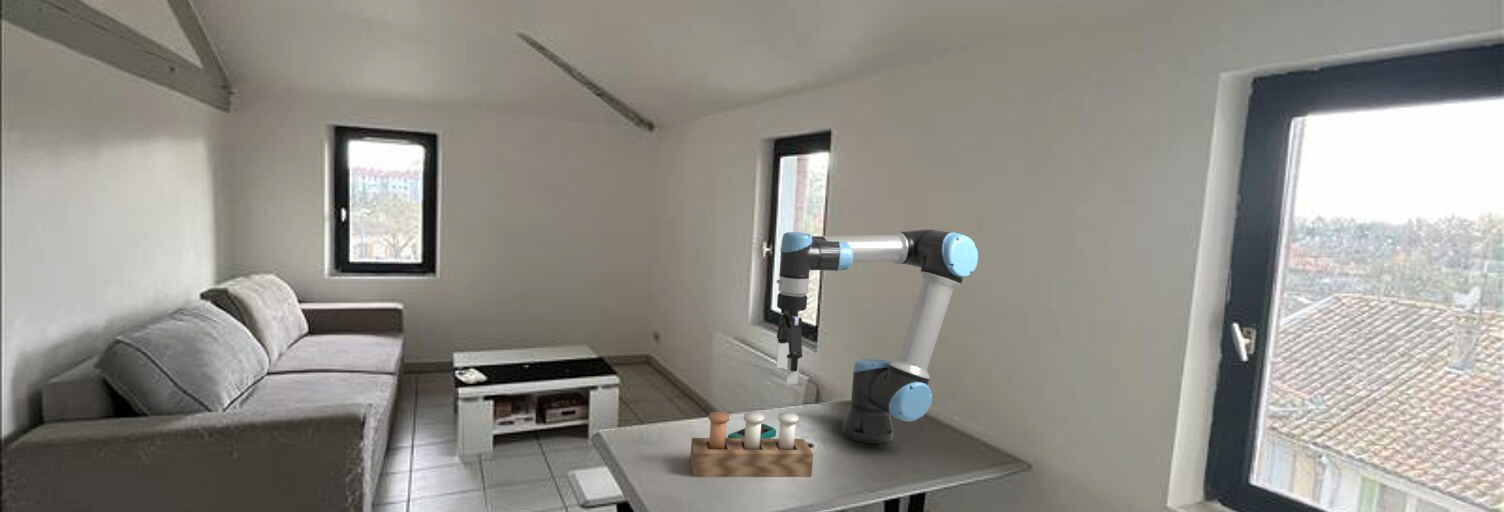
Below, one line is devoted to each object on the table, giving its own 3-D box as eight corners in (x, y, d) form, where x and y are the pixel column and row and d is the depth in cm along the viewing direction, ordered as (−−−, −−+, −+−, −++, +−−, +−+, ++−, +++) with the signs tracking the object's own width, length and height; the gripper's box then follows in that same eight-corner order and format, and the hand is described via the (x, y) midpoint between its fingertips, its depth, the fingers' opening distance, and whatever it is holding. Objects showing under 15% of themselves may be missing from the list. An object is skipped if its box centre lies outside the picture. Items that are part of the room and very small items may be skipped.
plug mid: (759, 445, 177) (762, 412, 176) (763, 453, 172) (766, 419, 171) (739, 445, 176) (742, 411, 175) (743, 453, 171) (745, 419, 170)
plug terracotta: (725, 445, 175) (727, 411, 174) (728, 453, 170) (730, 418, 169) (705, 445, 174) (707, 411, 173) (707, 453, 169) (709, 418, 168)
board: (801, 460, 182) (803, 438, 181) (811, 476, 172) (813, 454, 171) (690, 459, 176) (691, 437, 176) (693, 476, 167) (694, 453, 166)
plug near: (793, 445, 178) (796, 412, 177) (797, 453, 173) (800, 419, 172) (773, 445, 177) (776, 412, 176) (777, 453, 172) (780, 419, 171)
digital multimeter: (777, 437, 198) (778, 427, 198) (747, 450, 186) (747, 440, 186) (757, 430, 203) (757, 420, 202) (726, 443, 191) (727, 433, 190)
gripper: (769, 284, 183) (764, 361, 185) (787, 302, 159) (781, 389, 161) (796, 286, 184) (791, 362, 187) (818, 303, 160) (811, 390, 162)
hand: (786, 375), depth 174 cm, fingers open, 13 cm apart
